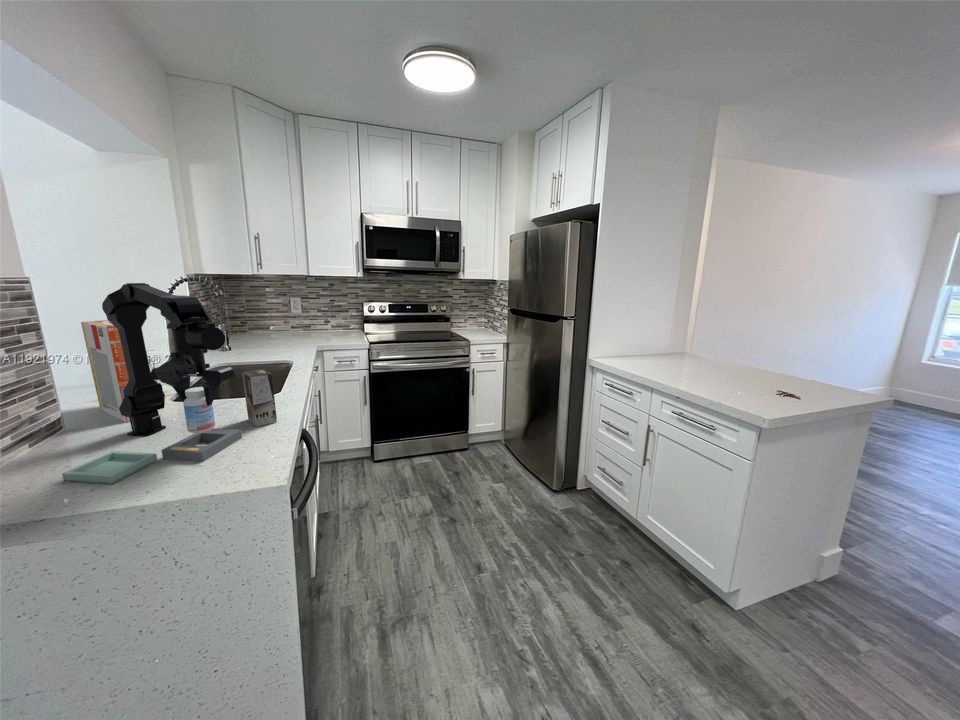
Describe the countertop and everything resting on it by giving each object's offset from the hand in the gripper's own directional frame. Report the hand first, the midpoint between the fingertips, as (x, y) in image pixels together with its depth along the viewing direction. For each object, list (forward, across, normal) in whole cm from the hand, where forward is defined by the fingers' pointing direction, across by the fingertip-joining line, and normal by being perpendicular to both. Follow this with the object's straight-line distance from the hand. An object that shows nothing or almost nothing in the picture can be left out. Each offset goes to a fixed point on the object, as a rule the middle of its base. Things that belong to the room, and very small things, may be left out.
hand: (198, 404), depth 100 cm
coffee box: (+13, +3, +20) cm, 24 cm away
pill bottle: (+7, 0, 0) cm, 7 cm away
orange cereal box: (+13, -46, +22) cm, 53 cm away
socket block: (+12, 0, 0) cm, 12 cm away
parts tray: (+12, -12, -14) cm, 22 cm away
